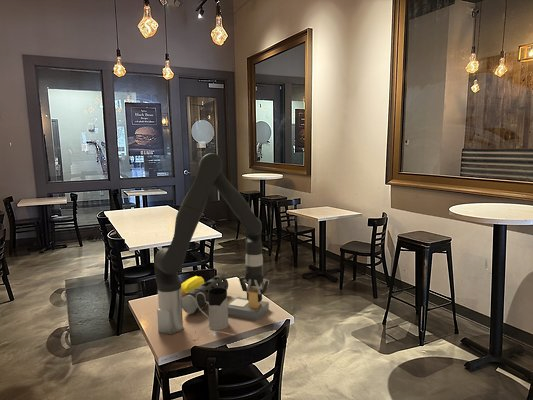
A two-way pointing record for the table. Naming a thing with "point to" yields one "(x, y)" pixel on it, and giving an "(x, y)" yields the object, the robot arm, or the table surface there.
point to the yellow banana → (191, 284)
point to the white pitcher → (217, 308)
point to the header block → (246, 309)
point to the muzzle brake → (190, 297)
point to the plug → (253, 298)
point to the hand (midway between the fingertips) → (254, 300)
